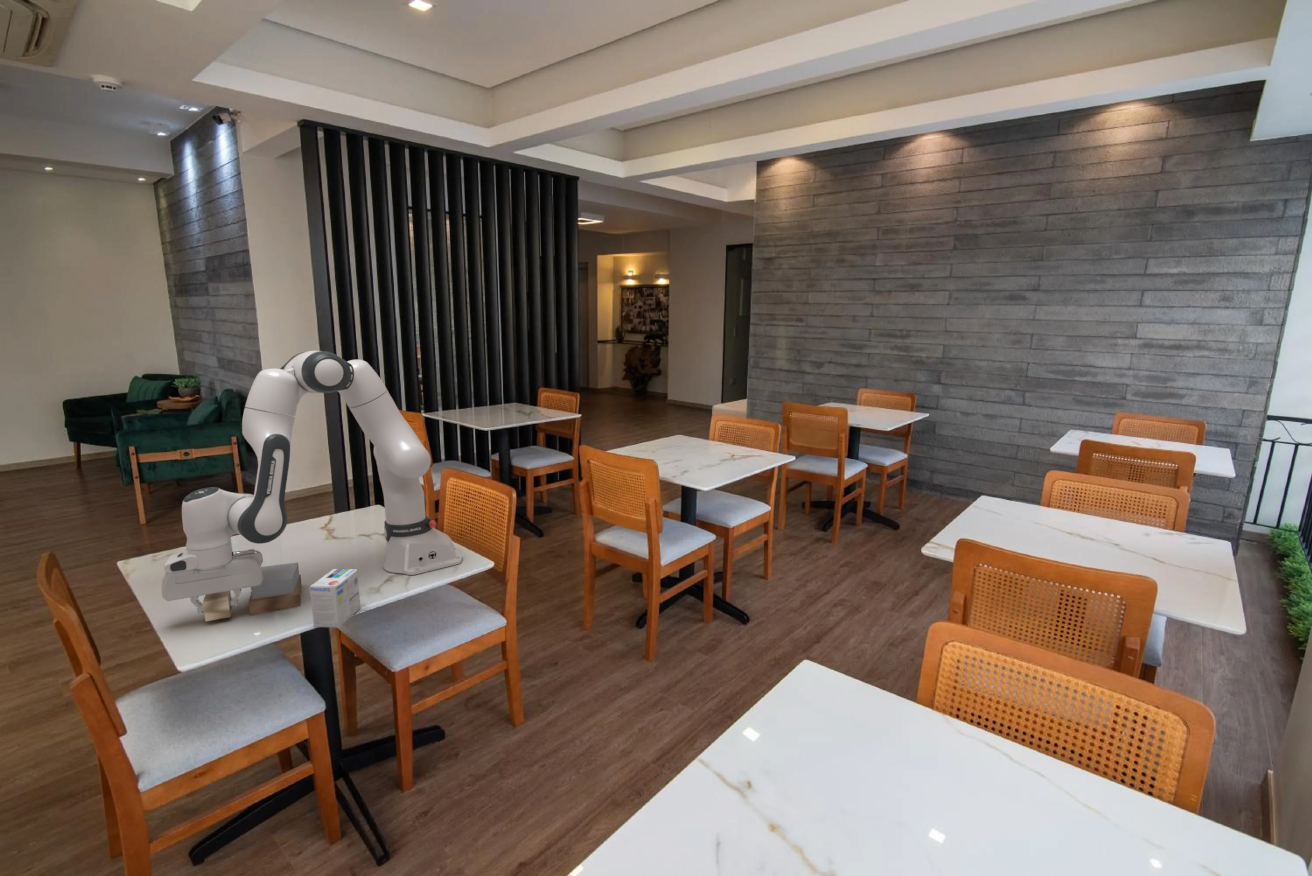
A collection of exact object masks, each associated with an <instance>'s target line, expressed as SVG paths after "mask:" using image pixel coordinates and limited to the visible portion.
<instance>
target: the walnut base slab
mask: <svg viewBox="0 0 1312 876" xmlns="http://www.w3.org/2000/svg"><path fill="white" fill-rule="evenodd" d="M302 588H303V585H302V576H301V574H300V573H299V579H298V582H297V585H296V587H295V590H294V593H293V594H288V595H281V596H274V597H267V598H260V599H252V594H251V593H250V596H249V600H248V607H249V609H248V611H249V615H250V616H254V615H261V614H266V613H273V612H277V611H282V610H283V611H284V610H288V609H294V608H300V607H301V606H302V592H303V591H302Z"/></svg>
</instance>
